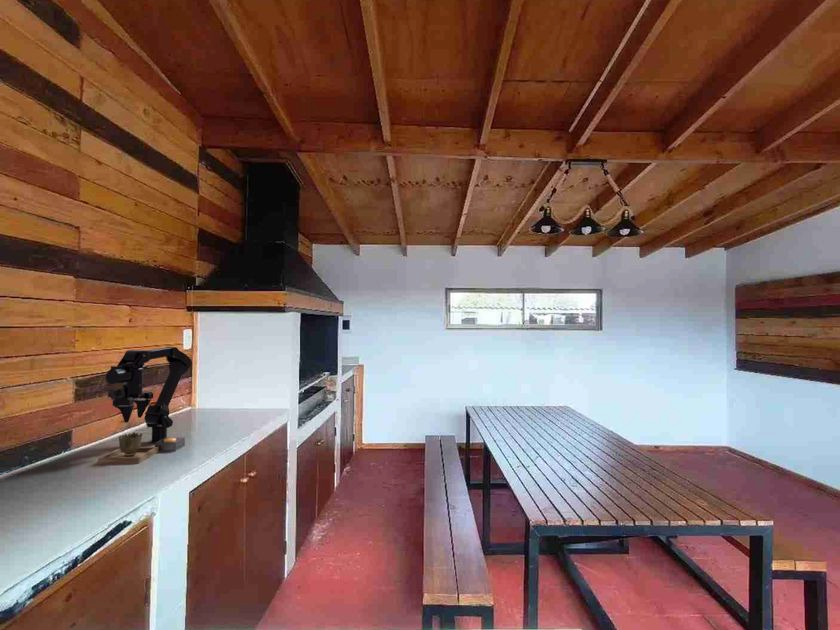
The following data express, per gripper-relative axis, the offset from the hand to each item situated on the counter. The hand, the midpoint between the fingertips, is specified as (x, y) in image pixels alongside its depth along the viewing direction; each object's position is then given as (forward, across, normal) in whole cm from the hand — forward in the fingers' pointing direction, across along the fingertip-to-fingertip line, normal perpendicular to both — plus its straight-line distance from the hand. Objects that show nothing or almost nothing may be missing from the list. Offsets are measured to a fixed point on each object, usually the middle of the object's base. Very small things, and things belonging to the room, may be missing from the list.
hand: (133, 419), depth 172 cm
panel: (+12, -1, +14) cm, 18 cm away
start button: (+11, -1, +14) cm, 18 cm away
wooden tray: (+12, +11, +5) cm, 17 cm away
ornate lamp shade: (+12, +11, +5) cm, 17 cm away
